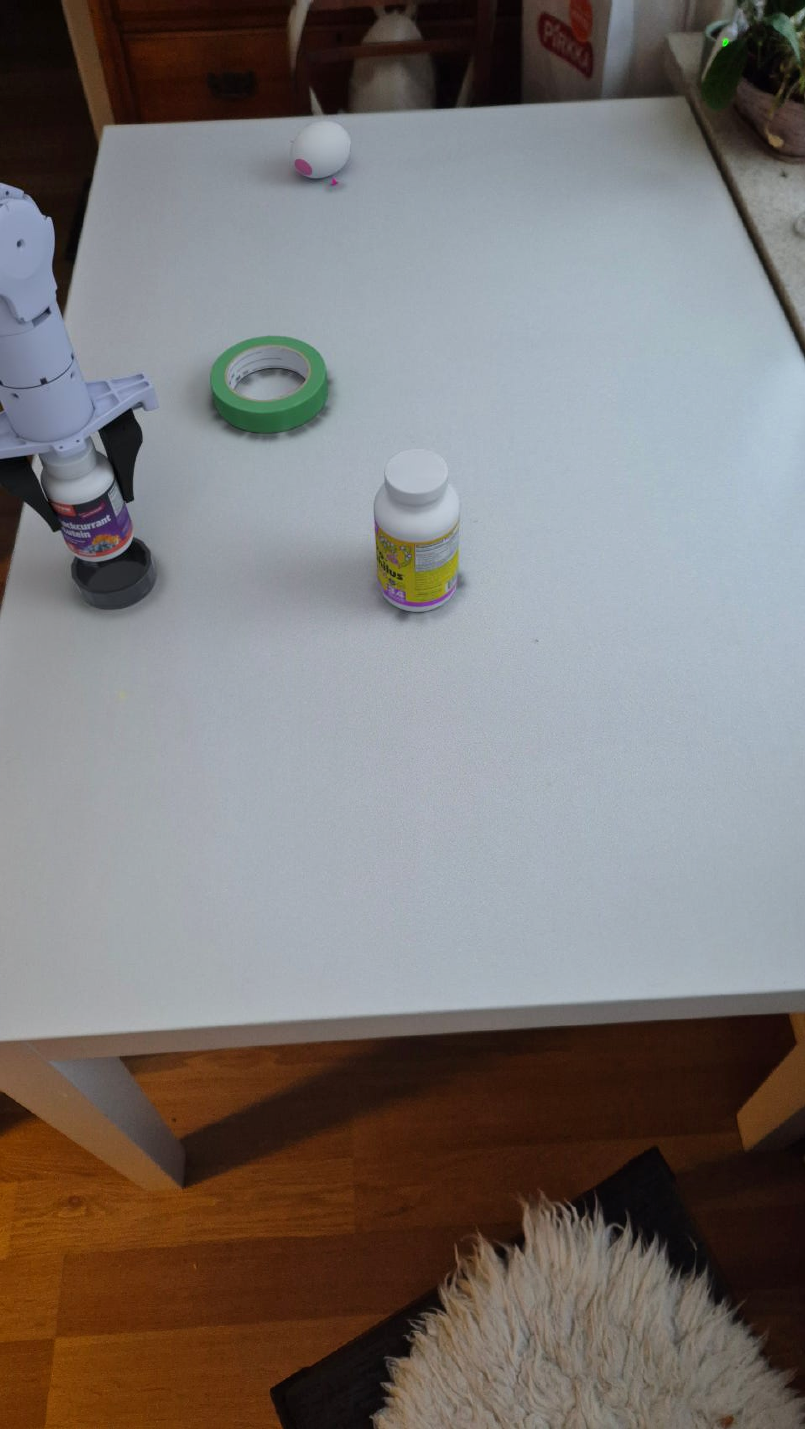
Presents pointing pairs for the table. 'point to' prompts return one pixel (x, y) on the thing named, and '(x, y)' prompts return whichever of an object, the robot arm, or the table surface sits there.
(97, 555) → the pill bottle
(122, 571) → the round open container
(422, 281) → the table surface
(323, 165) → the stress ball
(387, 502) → the supplement bottle
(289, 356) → the tape roll
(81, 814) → the table surface
